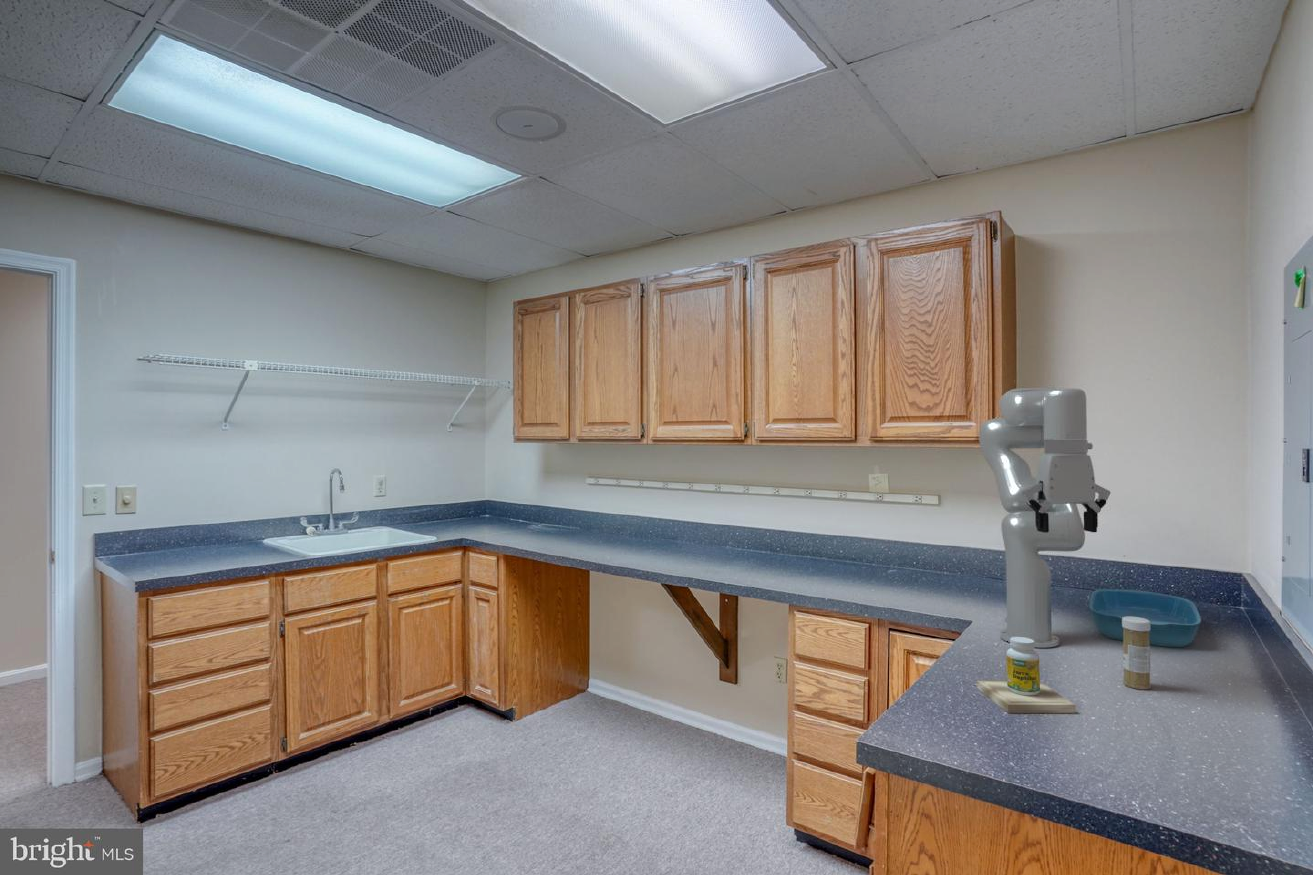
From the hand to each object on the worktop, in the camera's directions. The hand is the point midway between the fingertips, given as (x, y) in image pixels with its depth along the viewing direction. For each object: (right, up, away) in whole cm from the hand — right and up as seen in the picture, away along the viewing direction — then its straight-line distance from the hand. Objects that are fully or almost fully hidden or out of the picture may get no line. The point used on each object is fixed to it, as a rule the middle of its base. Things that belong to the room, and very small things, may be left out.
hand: (1066, 531), depth 134 cm
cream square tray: (-15, -30, -11) cm, 36 cm away
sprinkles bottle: (+11, -30, -5) cm, 33 cm away
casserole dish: (+41, -31, +34) cm, 61 cm away
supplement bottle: (-15, -29, -11) cm, 34 cm away
